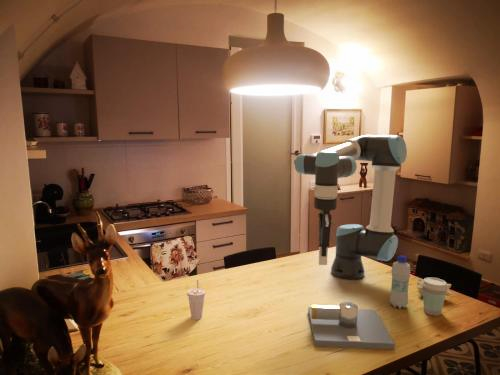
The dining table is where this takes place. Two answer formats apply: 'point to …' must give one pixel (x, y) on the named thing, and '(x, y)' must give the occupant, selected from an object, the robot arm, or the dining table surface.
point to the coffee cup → (433, 295)
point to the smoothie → (196, 301)
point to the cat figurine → (420, 288)
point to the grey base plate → (352, 332)
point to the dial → (337, 313)
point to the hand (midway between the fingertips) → (322, 264)
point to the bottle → (400, 282)
